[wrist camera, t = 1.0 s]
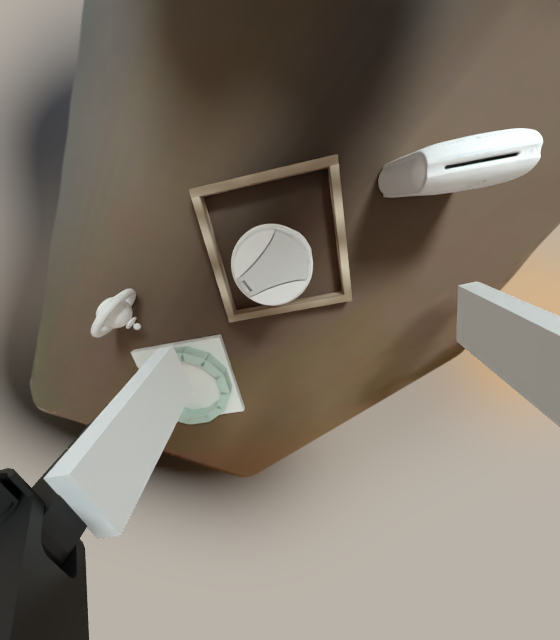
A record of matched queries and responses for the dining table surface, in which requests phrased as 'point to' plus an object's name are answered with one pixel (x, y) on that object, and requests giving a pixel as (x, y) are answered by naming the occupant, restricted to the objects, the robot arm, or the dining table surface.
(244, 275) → the paper cup
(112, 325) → the ring around a ball
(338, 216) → the tray frame
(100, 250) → the dining table surface
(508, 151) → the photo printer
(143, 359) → the cup holder
